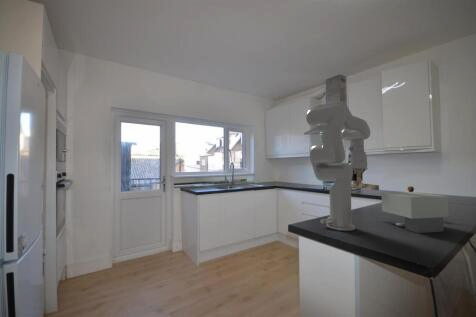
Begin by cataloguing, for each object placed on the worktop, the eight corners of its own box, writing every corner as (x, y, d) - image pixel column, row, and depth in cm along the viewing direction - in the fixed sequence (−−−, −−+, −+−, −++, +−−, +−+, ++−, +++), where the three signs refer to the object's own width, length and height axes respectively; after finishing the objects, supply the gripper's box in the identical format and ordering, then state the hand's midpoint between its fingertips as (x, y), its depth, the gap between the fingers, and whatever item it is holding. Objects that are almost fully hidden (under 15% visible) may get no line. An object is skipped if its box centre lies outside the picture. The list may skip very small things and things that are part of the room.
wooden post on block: (353, 186, 127) (353, 167, 128) (357, 186, 128) (357, 166, 128) (374, 190, 112) (374, 167, 112) (379, 190, 112) (379, 167, 112)
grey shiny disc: (410, 227, 104) (410, 225, 104) (399, 226, 105) (399, 224, 105) (404, 224, 109) (404, 223, 109) (393, 223, 110) (393, 222, 110)
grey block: (411, 233, 95) (411, 197, 95) (381, 223, 111) (380, 192, 111) (448, 231, 98) (447, 196, 98) (413, 221, 114) (413, 191, 115)
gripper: (348, 149, 121) (349, 181, 121) (373, 149, 124) (374, 180, 124) (340, 150, 129) (340, 180, 128) (364, 150, 132) (364, 179, 131)
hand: (357, 180), depth 126 cm, fingers closed on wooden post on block, 3 cm apart
